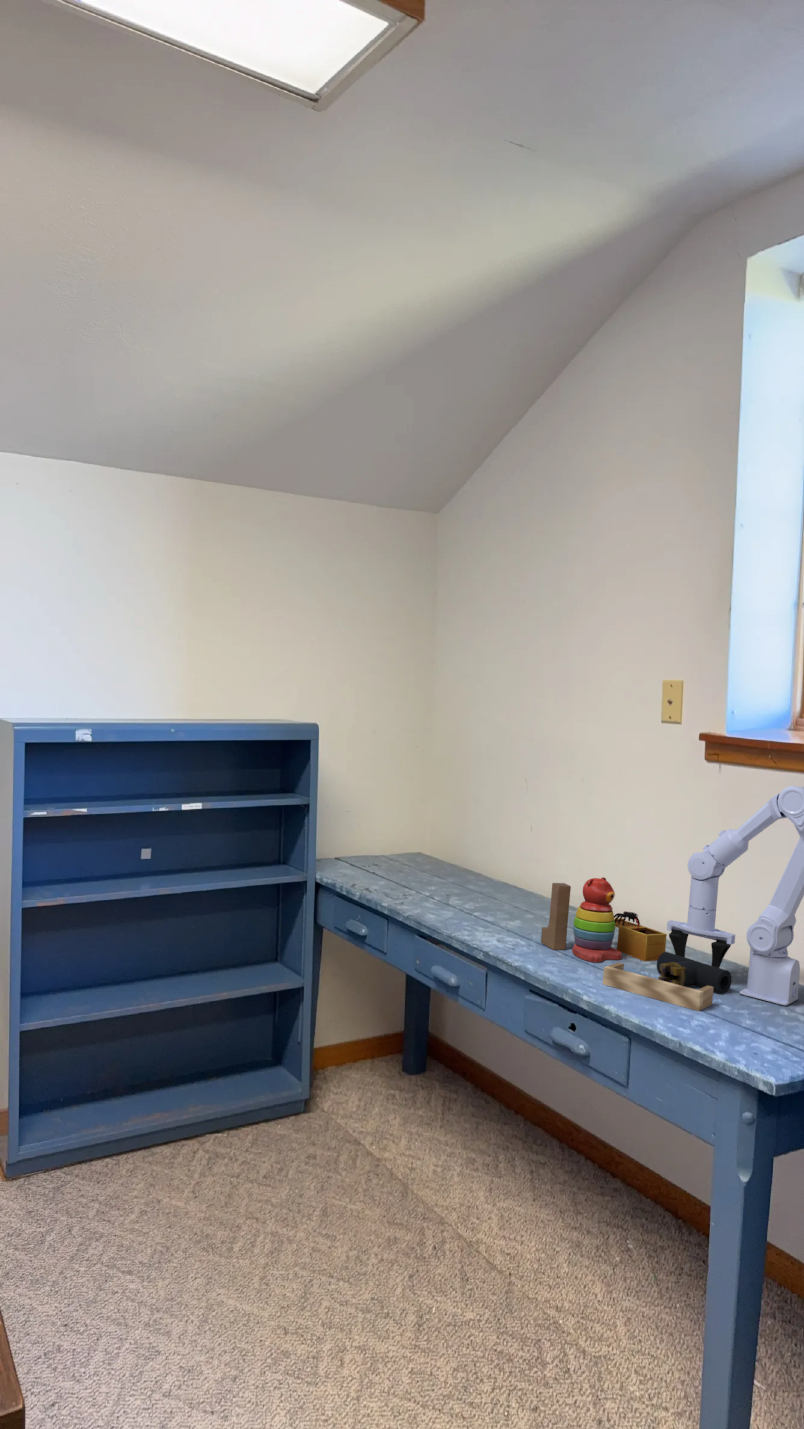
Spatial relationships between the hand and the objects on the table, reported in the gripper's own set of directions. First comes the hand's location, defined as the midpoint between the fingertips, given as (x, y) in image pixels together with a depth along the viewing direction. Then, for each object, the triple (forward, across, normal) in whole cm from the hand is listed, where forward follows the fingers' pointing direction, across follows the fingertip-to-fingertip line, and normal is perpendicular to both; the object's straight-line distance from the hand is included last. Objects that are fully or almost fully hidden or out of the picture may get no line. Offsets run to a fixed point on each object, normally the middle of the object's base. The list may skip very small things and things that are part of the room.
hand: (697, 970), depth 205 cm
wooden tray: (+2, 0, +20) cm, 20 cm away
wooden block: (+2, +33, +5) cm, 33 cm away
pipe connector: (+2, -1, +8) cm, 9 cm away
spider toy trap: (+2, +19, -8) cm, 21 cm away
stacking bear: (+2, +23, +4) cm, 23 cm away
